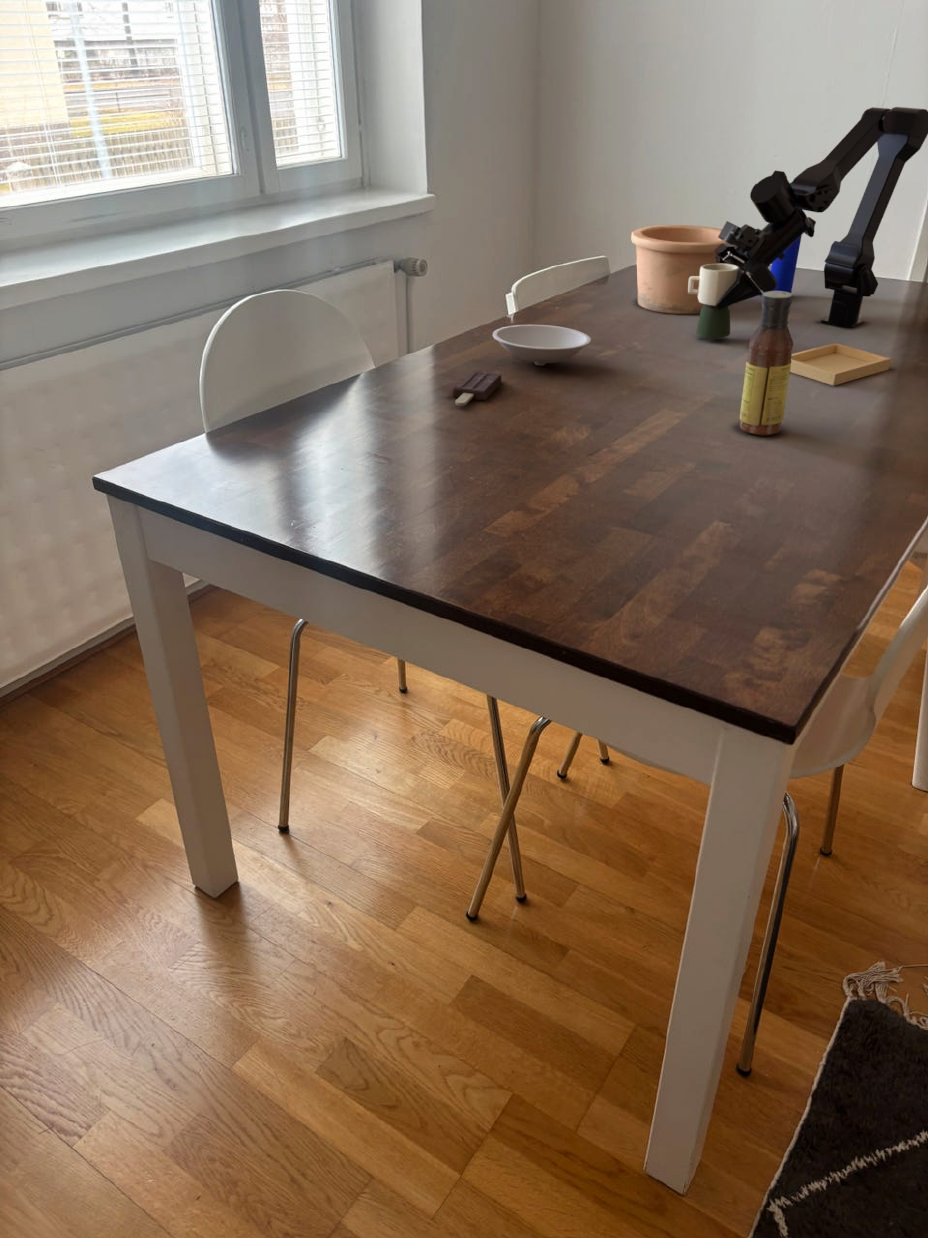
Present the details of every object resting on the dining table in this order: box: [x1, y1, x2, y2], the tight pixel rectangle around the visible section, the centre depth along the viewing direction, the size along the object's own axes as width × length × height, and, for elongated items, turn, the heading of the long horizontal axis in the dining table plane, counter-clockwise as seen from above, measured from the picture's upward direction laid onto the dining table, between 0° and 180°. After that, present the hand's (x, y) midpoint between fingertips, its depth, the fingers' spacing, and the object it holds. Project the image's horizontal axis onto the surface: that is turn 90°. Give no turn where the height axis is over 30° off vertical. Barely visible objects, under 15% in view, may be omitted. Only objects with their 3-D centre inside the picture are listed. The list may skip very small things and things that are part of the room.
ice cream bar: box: [452, 369, 502, 407], centre depth 155 cm, size 5×2×15 cm
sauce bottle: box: [739, 291, 794, 436], centre depth 138 cm, size 6×6×20 cm
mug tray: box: [790, 342, 892, 387], centre depth 168 cm, size 12×16×2 cm
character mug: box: [688, 264, 739, 340], centre depth 180 cm, size 11×7×13 cm, turn 73°
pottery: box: [630, 224, 736, 315], centre depth 202 cm, size 22×22×14 cm
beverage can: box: [770, 234, 803, 294], centre depth 208 cm, size 5×5×15 cm
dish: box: [492, 324, 592, 366], centre depth 168 cm, size 18×14×5 cm
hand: (709, 301), depth 179 cm, fingers closed on character mug, 8 cm apart
